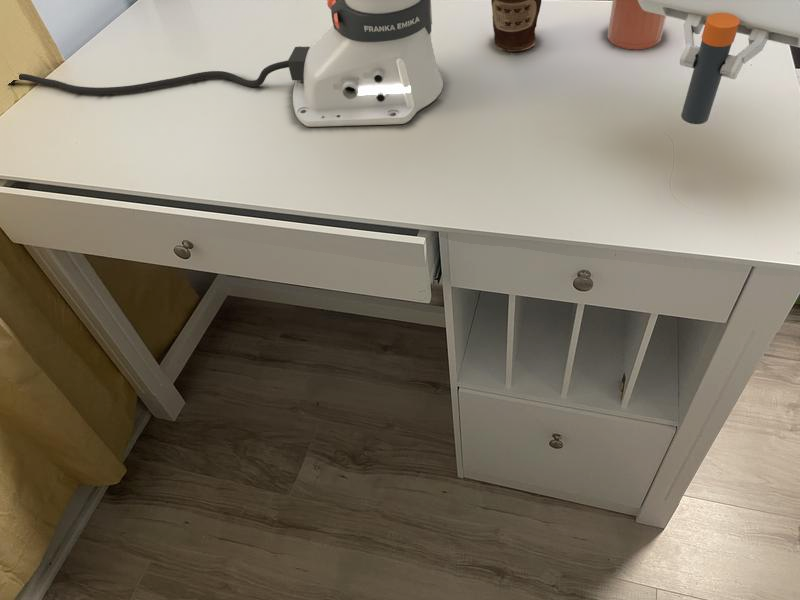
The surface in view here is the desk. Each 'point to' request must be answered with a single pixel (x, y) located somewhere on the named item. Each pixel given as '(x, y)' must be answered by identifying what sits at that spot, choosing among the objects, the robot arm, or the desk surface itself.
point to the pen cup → (634, 25)
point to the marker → (709, 66)
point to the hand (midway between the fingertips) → (706, 70)
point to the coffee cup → (515, 23)
